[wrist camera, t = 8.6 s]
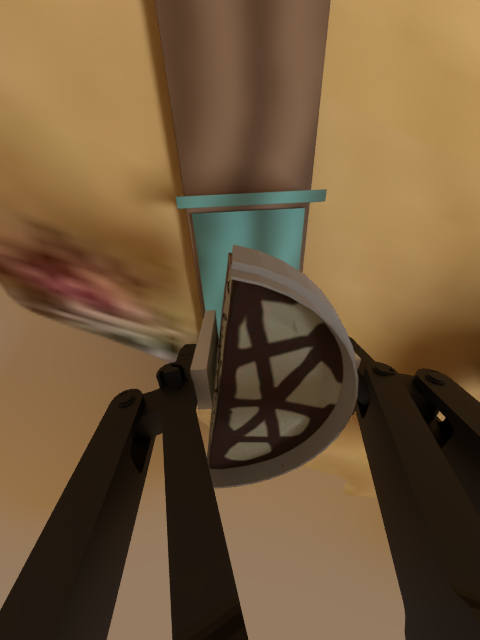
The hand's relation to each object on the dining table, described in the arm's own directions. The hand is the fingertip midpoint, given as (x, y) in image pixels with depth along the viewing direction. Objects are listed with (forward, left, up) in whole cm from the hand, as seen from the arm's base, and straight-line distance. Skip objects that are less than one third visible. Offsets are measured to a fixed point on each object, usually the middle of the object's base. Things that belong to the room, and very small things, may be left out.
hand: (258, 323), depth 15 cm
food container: (0, 0, -2) cm, 2 cm away
